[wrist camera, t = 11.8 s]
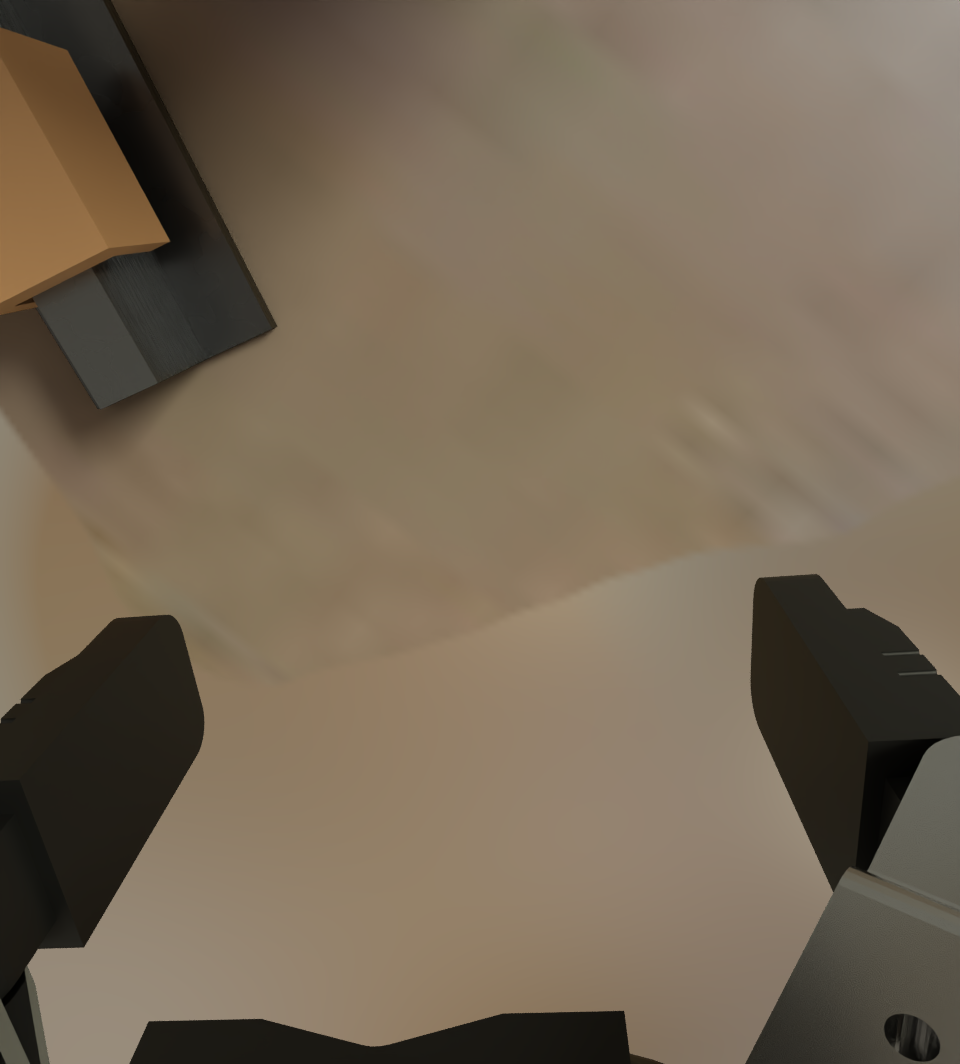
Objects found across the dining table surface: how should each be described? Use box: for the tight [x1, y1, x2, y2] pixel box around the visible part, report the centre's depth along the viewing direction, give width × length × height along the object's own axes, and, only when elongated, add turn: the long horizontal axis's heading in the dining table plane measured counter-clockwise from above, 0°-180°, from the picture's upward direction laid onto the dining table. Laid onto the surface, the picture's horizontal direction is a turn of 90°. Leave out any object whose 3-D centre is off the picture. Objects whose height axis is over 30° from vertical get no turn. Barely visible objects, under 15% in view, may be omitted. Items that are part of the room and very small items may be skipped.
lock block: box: [0, 27, 170, 315], centre depth 28 cm, size 7×6×5 cm
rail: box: [0, 0, 277, 409], centre depth 30 cm, size 16×9×6 cm, turn 23°
